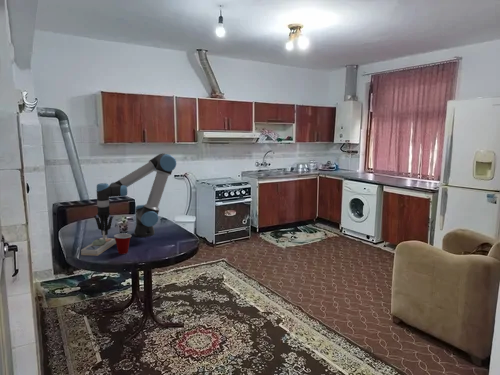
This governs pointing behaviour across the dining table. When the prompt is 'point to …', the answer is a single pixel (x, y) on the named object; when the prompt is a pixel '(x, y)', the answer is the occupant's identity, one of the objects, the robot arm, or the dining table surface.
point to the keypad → (100, 249)
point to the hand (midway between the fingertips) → (104, 239)
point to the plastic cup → (122, 242)
